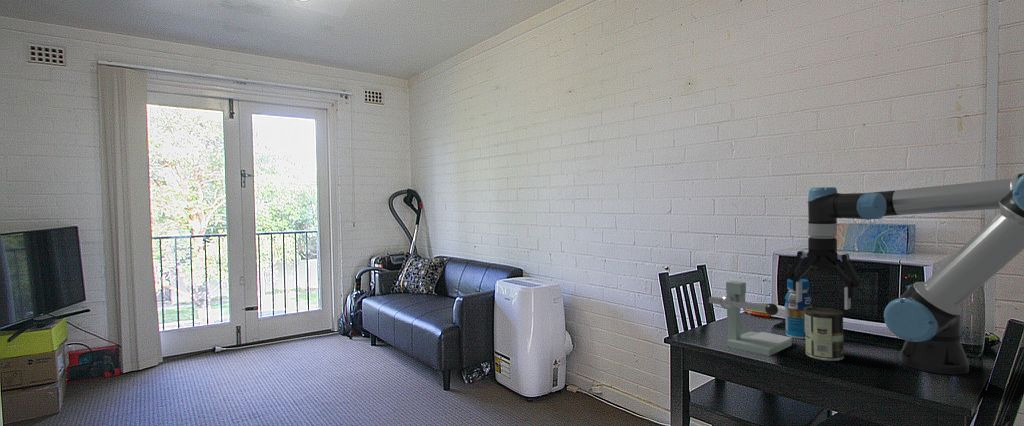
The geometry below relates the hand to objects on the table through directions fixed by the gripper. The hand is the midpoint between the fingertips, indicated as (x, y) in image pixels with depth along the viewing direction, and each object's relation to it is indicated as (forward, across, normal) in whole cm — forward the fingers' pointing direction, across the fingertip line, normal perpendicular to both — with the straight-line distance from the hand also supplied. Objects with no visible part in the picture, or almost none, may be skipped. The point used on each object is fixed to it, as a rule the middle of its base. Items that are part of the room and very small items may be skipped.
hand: (822, 305), depth 154 cm
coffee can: (+16, 0, 0) cm, 16 cm away
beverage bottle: (+16, +14, -16) cm, 26 cm away
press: (+16, +18, +3) cm, 24 cm away
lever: (+3, +19, +13) cm, 23 cm away
